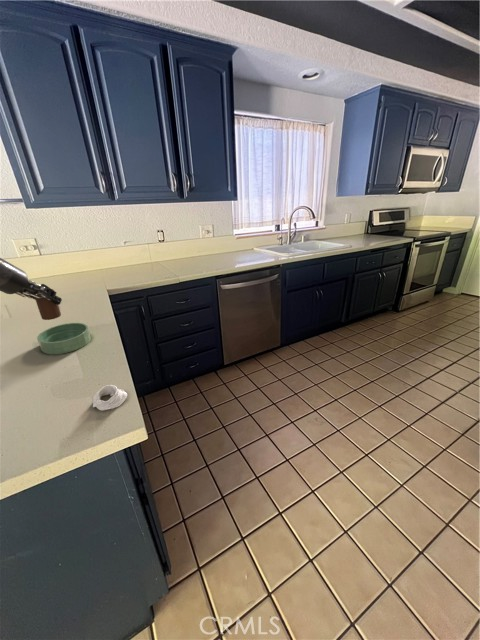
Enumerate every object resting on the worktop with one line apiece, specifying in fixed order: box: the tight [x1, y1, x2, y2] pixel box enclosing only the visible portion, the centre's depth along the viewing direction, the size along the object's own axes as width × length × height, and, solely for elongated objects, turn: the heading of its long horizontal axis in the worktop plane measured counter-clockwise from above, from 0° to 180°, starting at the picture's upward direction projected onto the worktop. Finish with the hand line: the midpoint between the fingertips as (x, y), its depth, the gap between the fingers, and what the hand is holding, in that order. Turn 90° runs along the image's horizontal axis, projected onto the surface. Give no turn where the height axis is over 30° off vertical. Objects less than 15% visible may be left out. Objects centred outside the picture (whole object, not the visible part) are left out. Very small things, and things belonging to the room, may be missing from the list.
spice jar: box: [34, 288, 62, 321], centre depth 83 cm, size 5×5×8 cm
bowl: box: [36, 322, 92, 355], centre depth 94 cm, size 15×15×5 cm
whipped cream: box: [92, 384, 128, 411], centre depth 67 cm, size 8×7×5 cm
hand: (52, 301), depth 84 cm, fingers closed on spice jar, 5 cm apart
